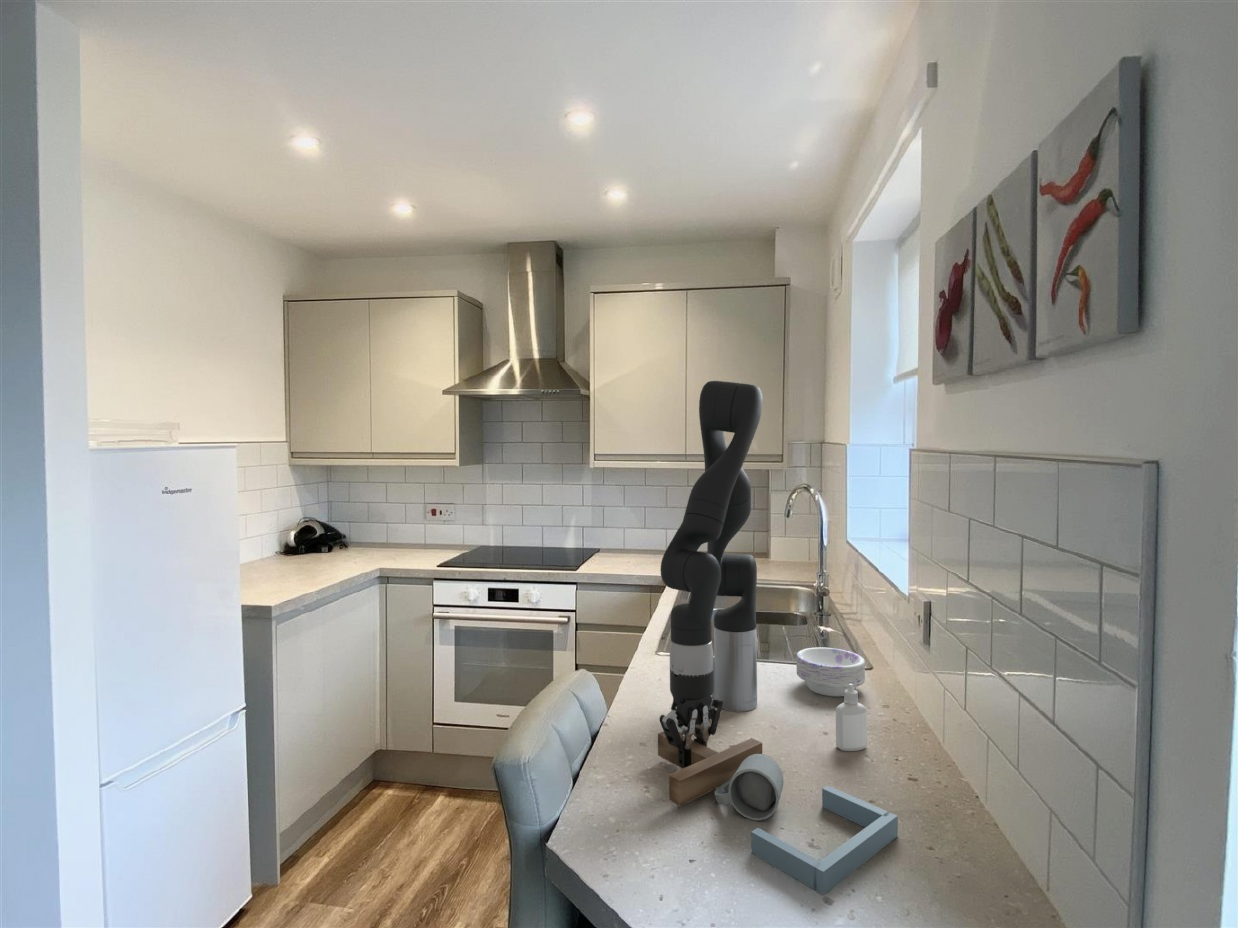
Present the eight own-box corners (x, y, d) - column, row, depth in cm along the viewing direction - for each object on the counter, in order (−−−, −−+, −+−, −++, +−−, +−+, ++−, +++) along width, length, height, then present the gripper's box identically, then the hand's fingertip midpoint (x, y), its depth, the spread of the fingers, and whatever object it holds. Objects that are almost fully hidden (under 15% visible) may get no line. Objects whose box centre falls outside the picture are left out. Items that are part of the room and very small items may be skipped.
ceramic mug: (785, 797, 106) (784, 750, 105) (779, 825, 98) (777, 774, 98) (721, 787, 109) (719, 742, 109) (709, 813, 102) (708, 764, 102)
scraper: (621, 770, 112) (621, 747, 112) (702, 736, 125) (702, 716, 125) (679, 806, 101) (679, 780, 101) (762, 765, 114) (762, 742, 114)
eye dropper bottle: (868, 754, 120) (868, 689, 120) (836, 750, 122) (835, 687, 121) (866, 743, 124) (865, 681, 124) (835, 740, 126) (834, 678, 126)
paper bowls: (872, 685, 154) (871, 652, 154) (855, 707, 142) (855, 670, 142) (808, 673, 163) (807, 642, 163) (787, 693, 150) (787, 659, 150)
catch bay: (751, 852, 92) (751, 831, 92) (827, 803, 104) (827, 785, 104) (823, 894, 83) (823, 871, 83) (897, 835, 95) (897, 815, 95)
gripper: (703, 652, 120) (705, 745, 120) (646, 669, 111) (648, 769, 112) (735, 662, 114) (736, 759, 115) (677, 681, 105) (678, 787, 106)
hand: (692, 764), depth 113 cm, fingers closed on scraper, 3 cm apart
